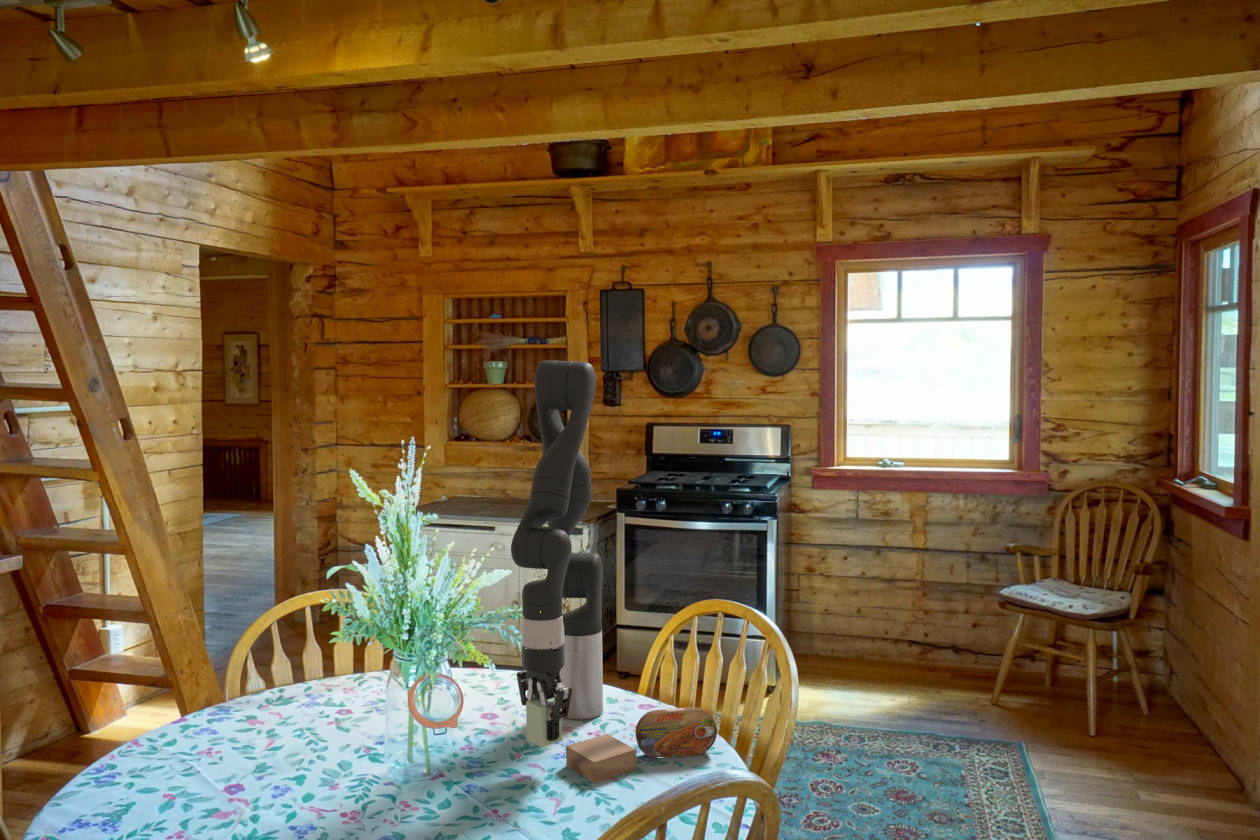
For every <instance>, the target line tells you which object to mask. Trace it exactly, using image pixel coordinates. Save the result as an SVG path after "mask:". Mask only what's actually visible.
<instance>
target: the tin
mask: <svg viewBox="0 0 1260 840" xmlns="http://www.w3.org/2000/svg"><path fill="white" fill-rule="evenodd" d="M717 728H718V727H717V723H716V721H715V719H714V718H713V717H712V715H710V714H709V713H708V712H707V711H706V710H704V709H703V708H700V707H695V706H692V707H690V706H689V707H681V708H680V707H678V708H667V709H666V708H665V709H655V710H651V711H647V712H646V713H645V714H643V715H642V716H641V717H640V718H639V720H638V722H637V724H636V726H635V739H636V743H637V746H638V748H639V750H640V751H641V752H642V753H643V754H644V755H646V756H647V757H648V758H652V759H657V757H669V758H673V757H672V756H680V757H691V755H693V756H700V755H703V754H704V753H706V752H707V751H709V750H710V749H712V747H713V746H714V744H715V742H716V739H717V734H718V733H717V732H718V729H717Z"/></svg>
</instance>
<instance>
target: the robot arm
mask: <svg viewBox="0 0 1260 840" xmlns="http://www.w3.org/2000/svg"><path fill="white" fill-rule="evenodd" d="M595 372H596V371H595V369H594V367H593V365H592V364H591V363H589V362H586V361H573V360H572V361H571V360H551V359H550V360H542V361H540V362H539V363H538V364H537V366H536V369H535V373H534V379H533V383H534V384H533V385H534V398H535V404H536V411H537V417H538V423H539V430H540V437H541V448H542V450H541V451H542V456H541V457H540V458H539V461H537V464H536V466H535V470H534V473H533V477H532V482H531V483H532V484H531V489H530V495H529V500H528V503H527V506H526V509H525V511H524V513H523V516H522V517H521V520H520V522H519V524H518V526H517V528H516V530H515V532H514V535H513V537H512V540H511V544H510V555H511V558H512V560H513V562H514V564H515V565H516V566H518V567H520V568H524V569H537V570H538V569H539V570H547V575H546V577H545V578H544V579H543V578H542V579H539V580H538V579H537V580H533V581H529V582H527V583H526V584H524V585H523V588H522V593H521V594H522V596H521V599H522V600H521V601H522V602H521V603H522V604H521V606H522V607H521V608H522V621H521V629H520V630H521V631H520V634H521V667H522V668H523V670H522V671H518V672H516V678H517V685H518V686H517V687H518V690H519V697H520V703H521V705H522V706H524V707H525V706H526V701H528V700H530V701H532V700H536V699H539V698H541V704H542V707H545V708H546V717H547V720H546V721H547V740H548V741H554V740H557V739H558V738H559V720H560V719H561V718H562V719H564V718H565V719H570V720H588V719H593V718H596V717H598V716H600V715H602V714H603V712H604V699H603V698H604V695H603V694H604V691H603V690H604V683H603V682H604V681H603V680H604V678H603V677H604V676H603V622H602V621H603V619H602V618H603V615H602V599H603V598H602V594H603V593H602V591H603V579H604V578H603V577H604V576H603V575H604V571H603V569H604V567H603V562H602V558H601V556H600V554H599V553H596V552H573V550H572V548H573V546H572V541H571V538H570V537H571V534H572V533H573V530H574V529H575V528H576V526H577V525H578V523H579V522H580V521H581V519H582V518H583V516H584V515H585V513H586V511H587V510H588V508H589V506H590V504H591V501H592V497H593V496H592V478H591V477H592V476H591V469H590V465H589V463H588V461H587V459H586V458H585V456H584V454H583V453H582V451H581V450H580V449H581V446H582V444H583V443H582V442H583V439H584V436H585V433H586V430H587V427H588V422H589V420H590V416H591V411H592V408H593V405H594V401H595V396H596V387H597V384H596V383H597V382H596V381H597V377H596V373H595ZM559 410H560V411H571V412H570V414H569V417H568V420H567V423H565V424H566V425H565V426H564V425H563V422H562V418H561V415H560V411H559ZM545 523H547V528H542V527H543V526H544V524H545ZM563 599H585V600H586V602H584V603H583V604H581V606H579V607H577V608H575V609H572V610H570V611H567V612H564V613H563ZM540 611H541V613H540ZM523 616H524V617H523ZM525 648H527V649H525ZM526 691H527V693H526ZM552 698H554V700H553V701H550V702H548V701H547V700H548V699H552ZM551 706H554V710H553V713H552V711H551ZM561 708H562V711H561Z"/></svg>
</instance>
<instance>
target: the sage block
mask: <svg viewBox="0 0 1260 840" xmlns="http://www.w3.org/2000/svg"><path fill="white" fill-rule="evenodd" d="M553 700H554V698H552V699H548V700H547V701H548V702H550V701H553ZM553 710H554V706H551V711H552V713H553ZM525 711H526V715H525V716H526V718H525V719H526V740H527V741H528V742H531V743H532V744H534V745H536V746H539V747H541V748H543V747H546V746H549V745H552V744H555V743H559V742H562V741H563V718H561V719H560V720H559V738H558V739H557V740H554V741H548V740H547V721H546V720H547V717H546V708H545V707H542V704H541V698H539V699H536V700H532V701H530V700H528V701H526V705H525ZM561 711H562V708H561Z"/></svg>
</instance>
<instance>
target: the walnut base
mask: <svg viewBox="0 0 1260 840" xmlns="http://www.w3.org/2000/svg"><path fill="white" fill-rule="evenodd" d="M565 750H566V751H565V759H566V762H565V763H566V765H565V766H566V767H567V768H569V769H570V770H572V771H574V772H575V773H577V774H578V775H581V776H582V777H584V778H585V779H587V780H589V781H590V782H592V783H594V784H596V783H599V782H603V781H607V780H609V779H612V778H616V777H618V776H622V775H624V774H628V773H631V772H634V771H637V749H636V748H635V747H632V746H631V745H628V744H627V743H625V742H624V741H621V740H619V739H617V738H615V737H614V736H612V735H610V734H608V733H606V734H601V735H599V736H595V737H592V738H588V739H585V740H581V741H578V742H574V743H571V744H567V745H565Z"/></svg>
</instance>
